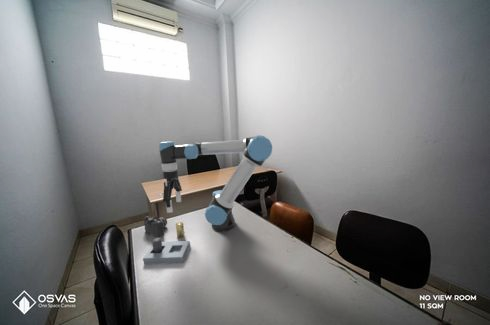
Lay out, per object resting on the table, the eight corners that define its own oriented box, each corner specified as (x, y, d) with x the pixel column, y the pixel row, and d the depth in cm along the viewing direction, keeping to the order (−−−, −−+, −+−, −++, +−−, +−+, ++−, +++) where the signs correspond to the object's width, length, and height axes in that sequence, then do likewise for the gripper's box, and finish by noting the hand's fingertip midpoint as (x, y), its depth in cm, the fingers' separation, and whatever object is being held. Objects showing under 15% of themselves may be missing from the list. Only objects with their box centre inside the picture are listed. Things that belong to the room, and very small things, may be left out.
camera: (174, 228, 110) (172, 214, 108) (159, 238, 100) (157, 222, 98) (158, 224, 116) (156, 210, 114) (143, 232, 106) (140, 217, 104)
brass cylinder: (185, 234, 104) (184, 221, 102) (183, 238, 100) (181, 225, 98) (178, 234, 104) (177, 222, 102) (176, 238, 100) (174, 225, 98)
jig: (190, 245, 93) (188, 232, 91) (182, 262, 81) (181, 247, 80) (156, 247, 93) (154, 233, 91) (143, 264, 81) (141, 248, 79)
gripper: (172, 166, 106) (176, 198, 110) (151, 176, 82) (157, 218, 86) (184, 165, 106) (188, 197, 110) (167, 175, 82) (173, 217, 86)
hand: (174, 206), depth 98 cm, fingers open, 13 cm apart
